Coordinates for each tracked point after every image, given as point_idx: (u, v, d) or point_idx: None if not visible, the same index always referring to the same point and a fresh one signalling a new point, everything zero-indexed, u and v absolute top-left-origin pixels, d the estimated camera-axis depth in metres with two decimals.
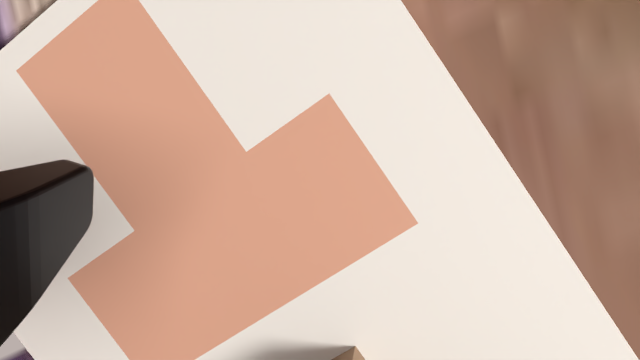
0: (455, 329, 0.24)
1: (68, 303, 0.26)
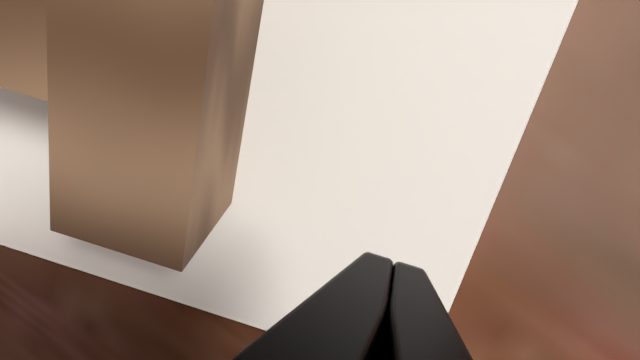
0: None
1: None
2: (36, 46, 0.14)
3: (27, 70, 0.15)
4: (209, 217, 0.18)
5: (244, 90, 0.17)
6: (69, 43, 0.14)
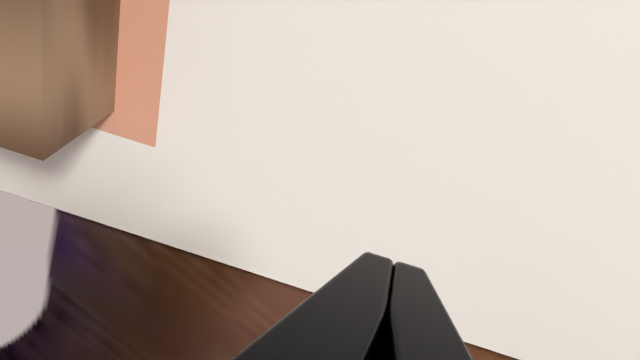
0: None
1: None
2: None
3: None
4: (79, 114, 0.18)
5: None
6: None
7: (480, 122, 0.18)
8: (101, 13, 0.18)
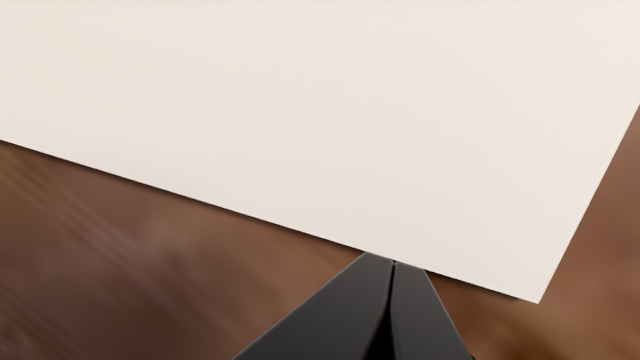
0: None
1: None
2: None
3: None
4: None
5: None
6: None
7: None
8: None
